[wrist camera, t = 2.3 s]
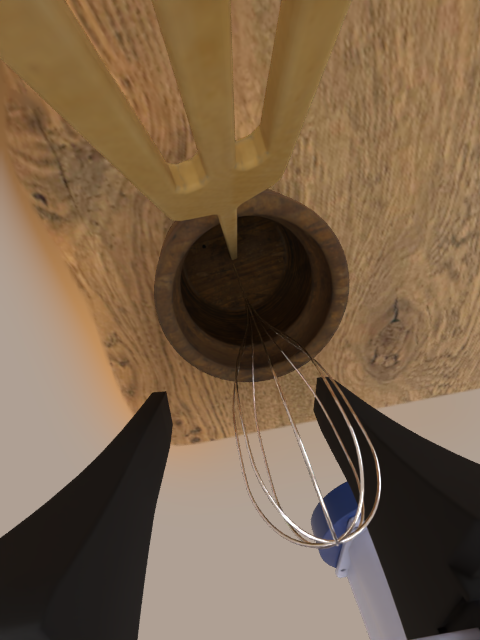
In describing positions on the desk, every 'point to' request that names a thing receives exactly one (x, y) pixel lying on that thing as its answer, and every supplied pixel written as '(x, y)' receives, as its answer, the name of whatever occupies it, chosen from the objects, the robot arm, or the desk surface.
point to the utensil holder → (216, 194)
